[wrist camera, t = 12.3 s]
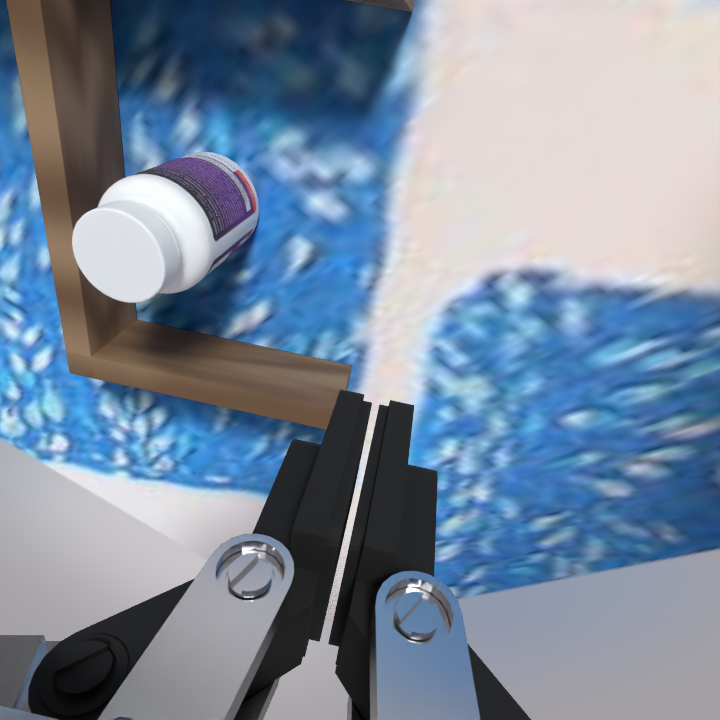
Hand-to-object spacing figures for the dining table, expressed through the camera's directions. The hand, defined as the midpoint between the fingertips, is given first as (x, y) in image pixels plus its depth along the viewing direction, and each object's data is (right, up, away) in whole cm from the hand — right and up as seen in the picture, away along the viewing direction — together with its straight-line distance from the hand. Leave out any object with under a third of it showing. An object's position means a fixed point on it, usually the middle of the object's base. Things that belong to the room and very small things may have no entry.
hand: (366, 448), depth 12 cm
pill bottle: (-8, +11, +17) cm, 22 cm away
